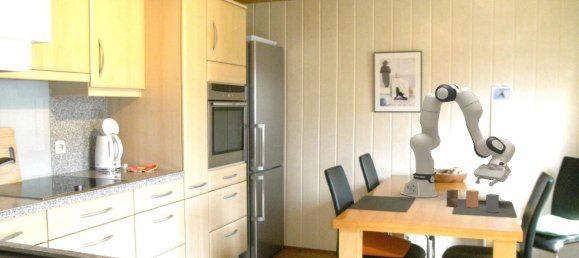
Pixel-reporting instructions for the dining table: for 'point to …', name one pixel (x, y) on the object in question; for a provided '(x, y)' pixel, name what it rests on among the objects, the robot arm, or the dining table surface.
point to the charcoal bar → (492, 203)
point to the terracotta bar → (472, 198)
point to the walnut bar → (452, 198)
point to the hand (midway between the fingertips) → (483, 184)
